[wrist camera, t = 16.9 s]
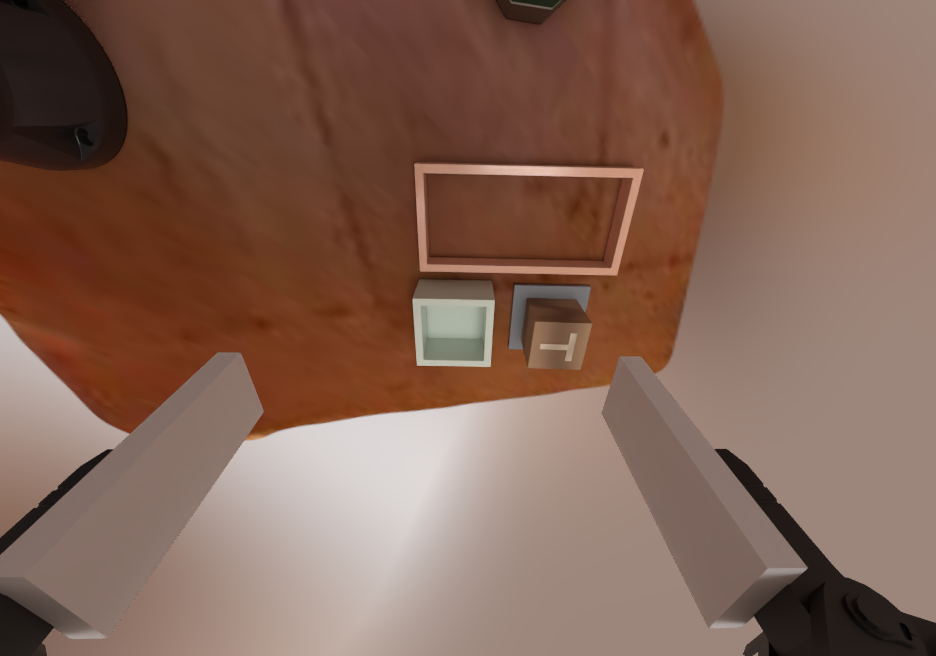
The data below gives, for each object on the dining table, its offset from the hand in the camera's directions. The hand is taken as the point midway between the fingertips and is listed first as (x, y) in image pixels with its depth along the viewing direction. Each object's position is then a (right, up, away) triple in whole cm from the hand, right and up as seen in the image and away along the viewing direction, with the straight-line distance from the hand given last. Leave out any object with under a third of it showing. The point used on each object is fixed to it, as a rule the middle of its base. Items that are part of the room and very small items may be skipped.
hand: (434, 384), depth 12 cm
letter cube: (+11, +3, +30) cm, 32 cm away
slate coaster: (+11, +3, +30) cm, 32 cm away
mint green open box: (0, +4, +30) cm, 30 cm away
